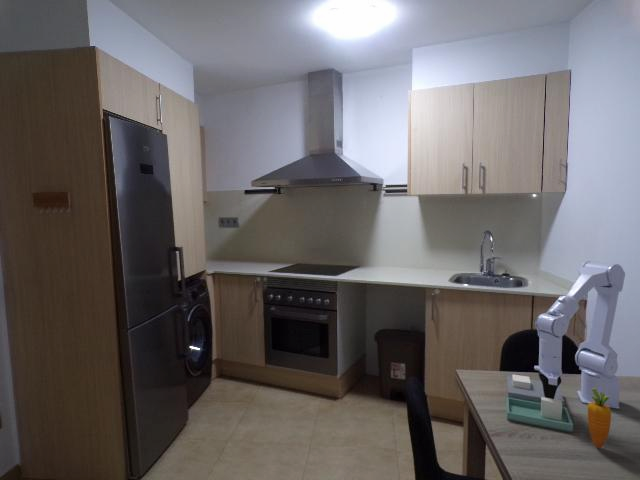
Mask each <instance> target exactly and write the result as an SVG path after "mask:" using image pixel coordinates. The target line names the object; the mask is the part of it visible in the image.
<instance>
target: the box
mask: <svg viewBox="0 0 640 480" xmlns="http://www.w3.org/2000/svg"><path fill="white" fill-rule="evenodd" d="M505 401H506V402H505V404H506V405H505V406H506V409H505V410H506V421H511V422H516V423H519V424H520V423H521V424H525V425H531V426H536V427H542V428H545V429H550V430H551V429H552V430H556V431H562V432H566V433H571V434H573V433H574V423H573V420H572V419H571V416H570V412H569V410H568V407H565V406H564V407H562V421H561V420H556V419H551V418H546V417H541V403H537V402H531V401H525V400H520V399H514V398H508V396H507V397H506V399H505Z"/></svg>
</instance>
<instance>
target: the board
mask: <svg viewBox="0 0 640 480" xmlns="http://www.w3.org/2000/svg"><path fill="white" fill-rule="evenodd" d="M530 383H531V384H530V389H526V388H520V387H514V386H513V383H512V376H511V375H506V393H507V397H508V398H514V399H520V400H525V401H531V402H537V403H541V397H544V398H545V395H544V391H543V384H542V382H541V380H536V379H530ZM554 399H556V400H561V402H562V407H565V400H564V397H563V395H562V391H561V388H560V385H559V386H558V388H557V390H556V393H555V397H554Z"/></svg>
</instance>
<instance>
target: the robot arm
mask: <svg viewBox="0 0 640 480" xmlns="http://www.w3.org/2000/svg"><path fill="white" fill-rule="evenodd" d="M625 277H626V271H625V270H624V269H623V267H622V266H621V264H619V263H618V264H617V263H605V262H596V261H590V260H588V261H587V260H586V261H584V262H583V263H582V264H581V266H580V267H579V268H578V278H577V279H576V281H575V282H574V284H573V285H572V286H571V288H570V289H569V290H568V293H567V294H566V295H560V296H559V297H558V298H557V299H556V301H555V302H554V303H553V304H552V305H551V307H549V309H548V310H547V312H544V313H541V314H539V315H538V316H537V318H536V320H535V322H534V326H535V327H534V328H535V329H536V330H537V331H536V332H537V337H539V339H538V340H539V341H538V342H539V343H538V344H539V345H538V347H539V348H538V349H539V351H538V352H539V354H538V365H534V367H533V368H534V370H535V371H538V378H539V379H540V380H539V381H541V382H542V384H543V391H544V395H545V398H550V399H554V397H555V393H556V390H557V388H558V386H559V387H560V384H561V383H562V382H563V381H562V374H563V370H562V359H563V358H562V355H563V354H562V352H563V337H564V335H565V334H567V332H568V328H569V325H570V320H571V319H572V317H573V316H574V315H575V314H576V312H578V311H579V309H580V305H579V302H580V301H581V300H582V299H583V298H584V297H585V296H587V294H588V293H589V292H590V291H592V289H593V288H594V289H595V291H596V292H597V296H596V299H595V300H596V301H595V305H594V310H593V315H592V320H591V325H590V326H591V327H590V331H589V335H588V340H586V341H583V342H581V343H580V344H579V346H578V349H577V351H576V353H575V355H574V361H575V364H576V365H577V366H578V367H579V368H578V370H580V371H581V377H580V378H581V381H580V382H581V383H580V390H577V391H576V392H577V395H578V397H579V398H580V401H581V403H584V404H587V405H588V404H589V403H591V402H595V401H594V399H593V398H592V397H591V396H594V397H596V396H595V394H594V392H593V390H592V389H593V388H595V389H596V390H597V392H598V394H599V396H600V400H601V395H600V392H603V393H604V397H605V396H608V397H609V399H608V400H607V401H606V402H605V403H604V405H606V406H608V407H609V408H610V409H611V408H613V409H620V381H619V378H618V376H617V375H616V373H617V372H618V369H619V368H618V367H619V365H618V355H619V354H618V353H617V351H615V350H614V348H612V347H611V345H610V341H611V335H612V331H613V326H614V320H615V316H616V315H615V314H616V310H617V305H618V299H619V295H620V293H621V292H623V288H624V282H625V279H626V278H625Z"/></svg>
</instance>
